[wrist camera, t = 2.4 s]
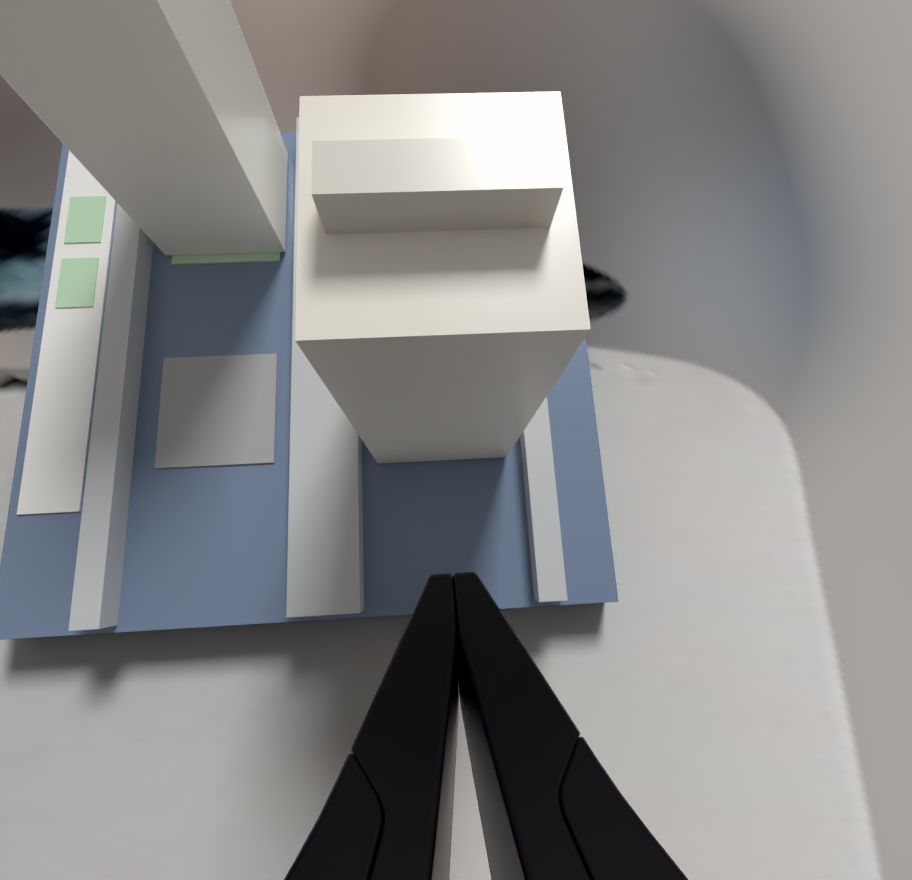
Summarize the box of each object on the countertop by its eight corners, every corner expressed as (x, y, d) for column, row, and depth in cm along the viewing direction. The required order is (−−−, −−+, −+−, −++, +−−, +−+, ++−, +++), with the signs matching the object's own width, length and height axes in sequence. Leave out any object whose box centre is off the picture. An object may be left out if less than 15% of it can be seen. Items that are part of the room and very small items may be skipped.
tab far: (285, 251, 17) (85, -139, 7) (165, 255, 17) (-196, -139, 7) (287, 152, 18) (112, -308, 8) (174, 155, 18) (-137, -312, 8)
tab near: (506, 457, 16) (609, 299, 6) (378, 463, 15) (276, 311, 6) (497, 338, 16) (574, 39, 7) (375, 343, 16) (283, 43, 7)
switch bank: (605, 598, 16) (628, 603, 14) (24, 633, 15) (-38, 645, 13) (552, 151, 20) (564, 107, 18) (86, 162, 19) (46, 117, 17)
